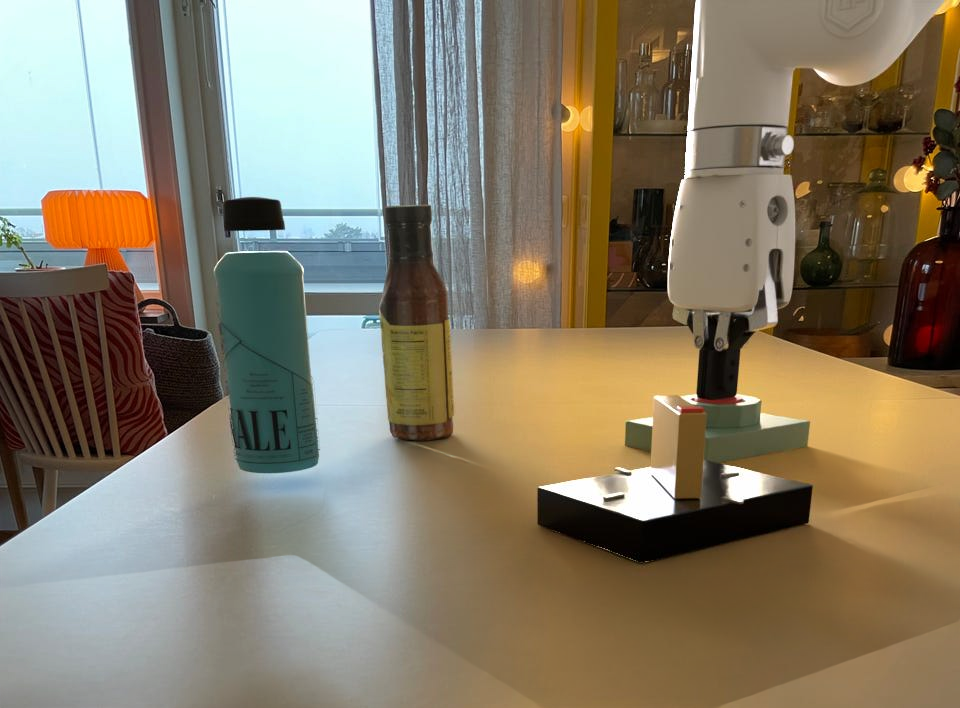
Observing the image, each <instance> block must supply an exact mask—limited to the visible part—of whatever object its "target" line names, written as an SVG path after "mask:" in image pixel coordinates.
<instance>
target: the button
mask: <svg viewBox="0 0 960 708" xmlns="http://www.w3.org/2000/svg"><path fill="white" fill-rule="evenodd" d="M694 402H699V403H709V404H734V403H741V402H743V398H742V397H740V396H735V397H730V398H723V399H716V400H708V399H706V398H703V399H702V398H698V397H697V396H696V397H695V399H694Z"/></svg>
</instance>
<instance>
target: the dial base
mask: <svg viewBox="0 0 960 708" xmlns="http://www.w3.org/2000/svg"><path fill="white" fill-rule="evenodd" d="M650 469H651V466H649V467H644V468H643V467H642V468H637V469H632V470H629V469H625V468H621V467H614V469H613V471H614V472H615V473H609V474H604V475H600V476H599V475H598V476H593V477H587V478H581V479H576V480H570V481H564V482H559V483H555V484H554V483H553V484H548V485H543V486H538V487H537V490H536V491H537V495H536V496H537V498H536V499H537V502H536V503H537V507H536V508H537V509H536V510H537V513H536V514H537V515H536V516H537V518H536V519H537V520H536V521H537V526H539V525H540V527H542V526H543V527H542V528H544V527H546V528H545V529H547V528H548V529H547V530H550V529H551V530H550V531H552V530H554V531H553V532H555V531H557V532H556V533H558V532H560V533H559V534H561V533H562V534H561V535H563V534H565V535H564V536H566V535H567V537H569V536H570V537H569V538H571V537H573V538H572V539H574V538H575V539H574V540H577V539H578V540H577V541H579V540H581V541H580V542H582V541H585V542H586V543H585V542H584V543H585V544H587V543H589V544H588V545H590V544H593V545H595V546H599V547H602V548H605V549H608V550H610V551H612V552H615V553H618V554H620V555H623V556H625V557H628V558H631V559H633V560H636V561H638V562H645V561H650V562H652V561H651V560H655V561H658V560H657V559H659V560H662V559H661V558H663V559H667V558H671V557H675V556H679V555H683V554H687V553H692V552H695V551H699V550H704V549H707V548H713V547H717V546H721V545H725V544H729V543H734V542H737V541H741V540H746V539H749V538H754V537H757V536H762V535H765V534H770V533H774V532H775V533H776V532H779V531H783V530H786V529H791V528H796V527H798V526H803V525H807V524H809V523H810V516H811V505H812V498H813V496H812V495H813V487H814V485H813V484H810V483H805V482H802V481H797V480H793V479H789V478H785V477H780V476H776V475H771V474H767V473H763V472H759V471H754V470H749V469H745V468H741V467H737V466H731V465H729V464H724V463H721V462H719V463H715V462H711V461H707V460H703V475H702V489H701V498H689V499H675V498H674V497H673V496H672V495H671V494H670V493H669V492H668V491H667V490H666V489H665V488H664V487H663V486H662V485H661V483H660V482H659V481H658V480H657V479H656V478H655V477H654V476H653V475H652V474H651V473H650ZM593 545H592V546H593ZM595 546H594V547H595ZM625 557H624V558H625ZM633 560H632V561H633ZM638 562H637V563H638Z"/></svg>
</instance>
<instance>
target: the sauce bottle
mask: <svg viewBox="0 0 960 708" xmlns="http://www.w3.org/2000/svg"><path fill="white" fill-rule="evenodd" d="M432 221H433V211H432V205H431V204H405V205H386V206H385V207H384V223H385V225H386V227H387V235H388V236H387V237H388V250H389V251H388V265H387V271H386V275H385V280H384V284H383V289H382V293H381V297H380V301H379V304H378V305H379V306H378V310H379V311H378V312H379V322H380V336H381V351H382V363H383V374H384V376H383V377H384V388H385V389H384V390H385V401H386V414H387V419H388V424H389V433H390V434H391V436H392V437H393V438H395V439H400V440H405V441H416V442H429V441H434V440H440V439H445V438H447V437H449V436H452V434H453V433H454V418H453V417H454V416H455V413H456V412H455V398H454V397H455V396H454V378H453V377H454V376H453V375H454V374H453V361H452V359H453V357H452V338H451V337H452V336H451V319H450V317H449V304H448V303H449V302H448V290H447V285H446V283H445V282H444V279H443V278H442V276H441V274H440V273H439V271H438V269H437V268H436V266H435V265H434V263H433V256H434V255H433V254H434V253H433V250H432V235H431V234H432V233H431V232H432V231H431V225H432Z"/></svg>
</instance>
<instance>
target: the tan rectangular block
mask: <svg viewBox="0 0 960 708" xmlns="http://www.w3.org/2000/svg"><path fill="white" fill-rule="evenodd" d="M681 397H682V396H681V395H679V394H678V395H676V394H675V395H674V394H673V395H670V394H669V395H654V396H653V408H652V417H653V428H652V448H651V452H650V467H651V469H650V473H651V474H652V475H653V476H654V477H655V478H656V479H657V480H658V481H659V482H660V483H661V485H662V486H663V487H664V488H665V489H666V490H667V491H668V492H669V493H670V494H671V495H672V496H673V497H674V498H675V499H689V498H701V489H702V475H703V460H704V446H705V431H706V417H707V414H706V413H705V412H704V408H702V407H700V406H694V405H692V404H691V403H689V402H688V401H686V400H685V399H683V398H681Z"/></svg>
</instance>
